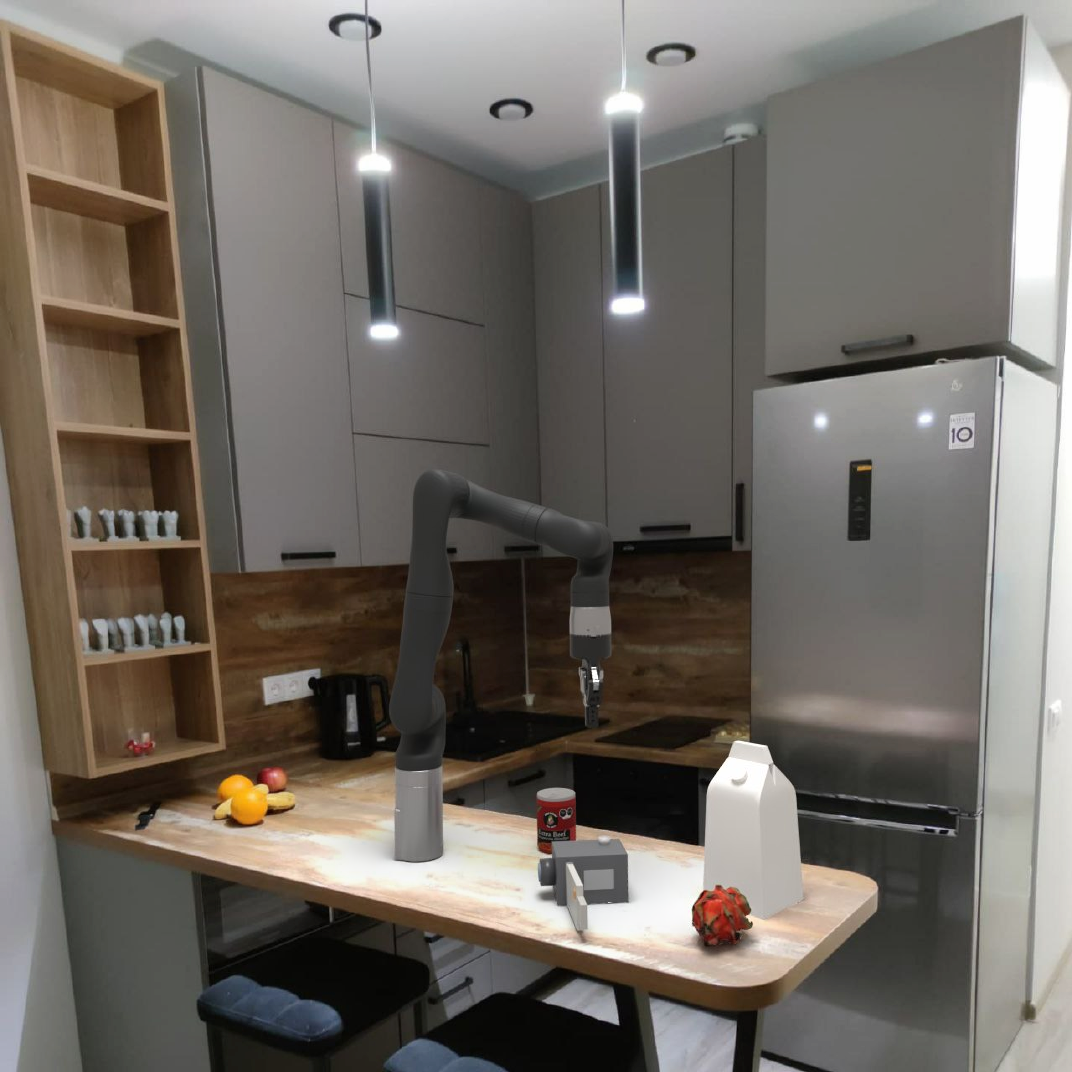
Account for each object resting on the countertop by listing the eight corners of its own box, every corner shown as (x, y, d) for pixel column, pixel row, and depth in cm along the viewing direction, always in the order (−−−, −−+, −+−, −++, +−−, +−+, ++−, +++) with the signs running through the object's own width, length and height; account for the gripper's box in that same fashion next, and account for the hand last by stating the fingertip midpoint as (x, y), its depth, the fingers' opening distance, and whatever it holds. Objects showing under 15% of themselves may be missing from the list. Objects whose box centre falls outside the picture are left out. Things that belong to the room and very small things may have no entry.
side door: (565, 903, 145) (564, 861, 145) (572, 902, 145) (572, 861, 145) (579, 940, 131) (579, 894, 131) (588, 939, 131) (587, 894, 131)
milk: (803, 900, 146) (800, 744, 147) (763, 919, 139) (760, 755, 139) (743, 880, 155) (741, 733, 156) (702, 897, 148) (700, 743, 148)
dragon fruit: (744, 936, 136) (710, 978, 127) (701, 896, 140) (665, 933, 130) (772, 902, 132) (739, 942, 123) (727, 861, 136) (692, 897, 127)
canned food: (532, 853, 171) (531, 796, 171) (544, 840, 178) (544, 786, 178) (569, 857, 168) (568, 799, 168) (580, 843, 176) (580, 788, 176)
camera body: (541, 906, 145) (540, 852, 145) (536, 888, 153) (536, 836, 153) (628, 902, 146) (627, 848, 146) (619, 884, 154) (619, 833, 154)
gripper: (565, 628, 165) (566, 720, 164) (574, 635, 152) (576, 735, 151) (604, 627, 165) (606, 719, 165) (617, 634, 152) (618, 734, 152)
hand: (591, 726), depth 158 cm, fingers closed
